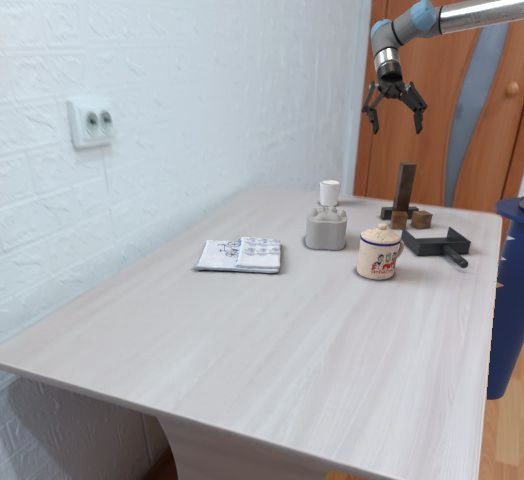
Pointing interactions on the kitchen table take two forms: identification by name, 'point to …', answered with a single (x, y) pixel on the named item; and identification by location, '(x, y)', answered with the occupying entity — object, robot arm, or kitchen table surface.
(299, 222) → the kitchen table surface
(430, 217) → the crumb
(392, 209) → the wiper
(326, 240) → the grey rounded block
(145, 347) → the kitchen table surface
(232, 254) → the folded kitchen towel
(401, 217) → the brown cube
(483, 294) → the kitchen table surface
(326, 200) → the white cup
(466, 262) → the dustpan
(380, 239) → the teacup with lid
